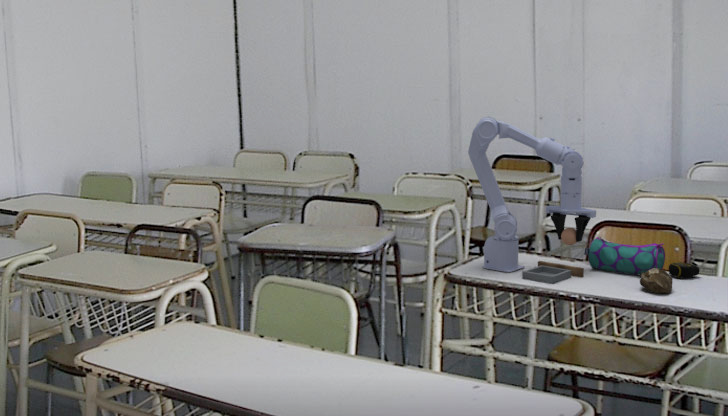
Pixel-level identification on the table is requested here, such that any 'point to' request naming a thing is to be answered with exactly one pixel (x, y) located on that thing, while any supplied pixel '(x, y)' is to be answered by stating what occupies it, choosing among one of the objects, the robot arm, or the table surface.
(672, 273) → the tape measure
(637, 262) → the pencil case
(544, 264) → the walnut rail
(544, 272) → the tray
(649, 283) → the brown rock
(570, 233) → the ball
